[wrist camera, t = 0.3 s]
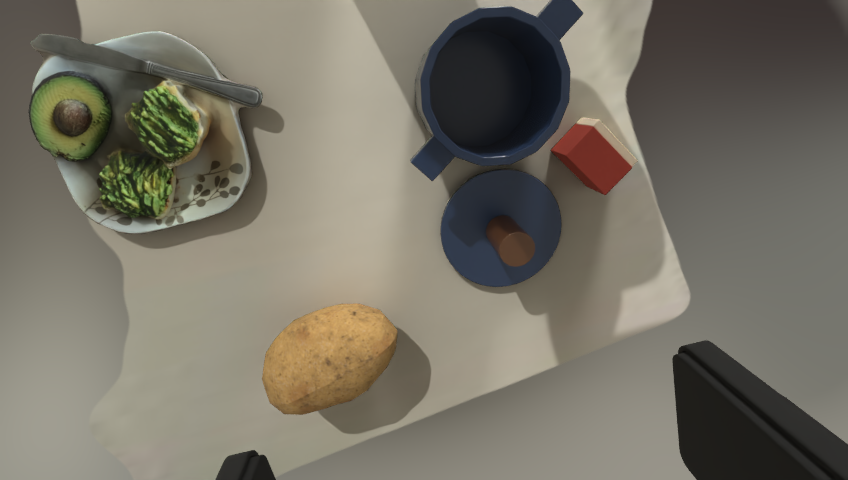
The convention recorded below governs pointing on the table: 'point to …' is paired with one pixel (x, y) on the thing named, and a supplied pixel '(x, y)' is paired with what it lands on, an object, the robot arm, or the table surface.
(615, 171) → the meat
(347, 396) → the potato
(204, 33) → the table surface
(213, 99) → the salad plate
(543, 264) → the lid
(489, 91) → the pot
